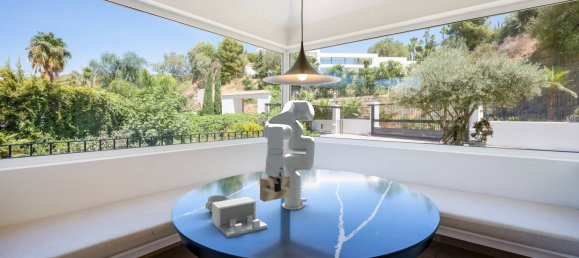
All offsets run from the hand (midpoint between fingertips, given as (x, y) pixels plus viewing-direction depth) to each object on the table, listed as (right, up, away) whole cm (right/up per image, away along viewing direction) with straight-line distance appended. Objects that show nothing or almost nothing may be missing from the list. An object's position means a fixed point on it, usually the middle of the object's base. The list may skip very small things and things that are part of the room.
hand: (275, 189), depth 134 cm
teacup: (-34, -18, +23) cm, 45 cm away
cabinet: (-21, -18, +11) cm, 30 cm away
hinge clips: (-16, -19, +2) cm, 25 cm away
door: (0, -4, 0) cm, 4 cm away
